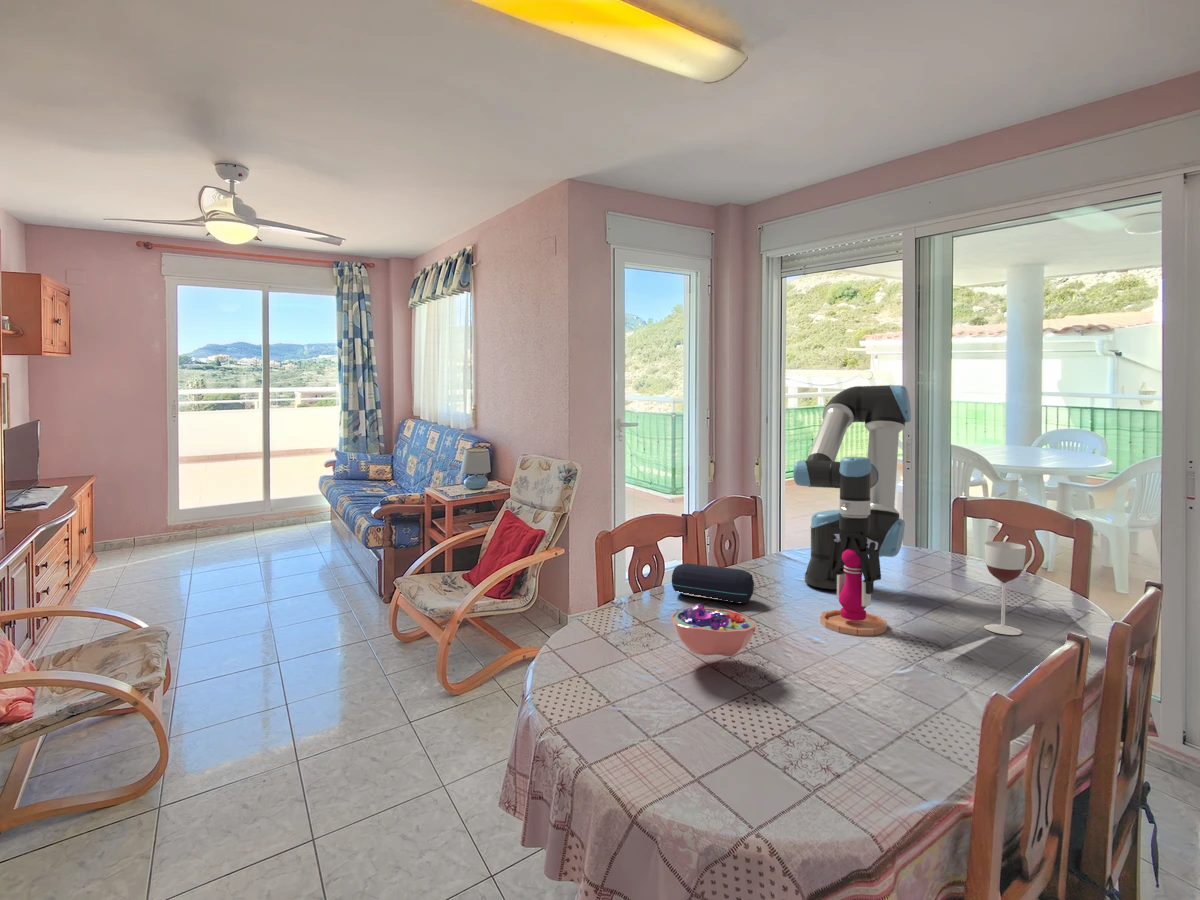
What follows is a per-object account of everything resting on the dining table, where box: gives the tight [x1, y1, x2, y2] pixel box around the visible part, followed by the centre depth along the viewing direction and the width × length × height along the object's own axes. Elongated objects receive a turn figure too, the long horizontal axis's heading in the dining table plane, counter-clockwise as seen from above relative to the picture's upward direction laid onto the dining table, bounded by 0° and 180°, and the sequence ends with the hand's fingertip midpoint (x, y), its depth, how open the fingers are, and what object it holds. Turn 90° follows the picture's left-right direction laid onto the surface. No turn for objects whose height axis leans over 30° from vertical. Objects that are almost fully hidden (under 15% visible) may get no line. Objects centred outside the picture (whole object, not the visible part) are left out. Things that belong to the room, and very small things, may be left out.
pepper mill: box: [838, 549, 868, 620], centre depth 163 cm, size 7×7×20 cm
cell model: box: [670, 603, 757, 658], centre depth 144 cm, size 17×20×11 cm
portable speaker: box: [671, 562, 755, 604], centre depth 188 cm, size 25×10×10 cm, turn 60°
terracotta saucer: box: [819, 609, 888, 636], centre depth 164 cm, size 16×16×2 cm
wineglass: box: [983, 541, 1027, 636], centre depth 159 cm, size 9×10×22 cm
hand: (853, 601), depth 163 cm, fingers closed on pepper mill, 7 cm apart
